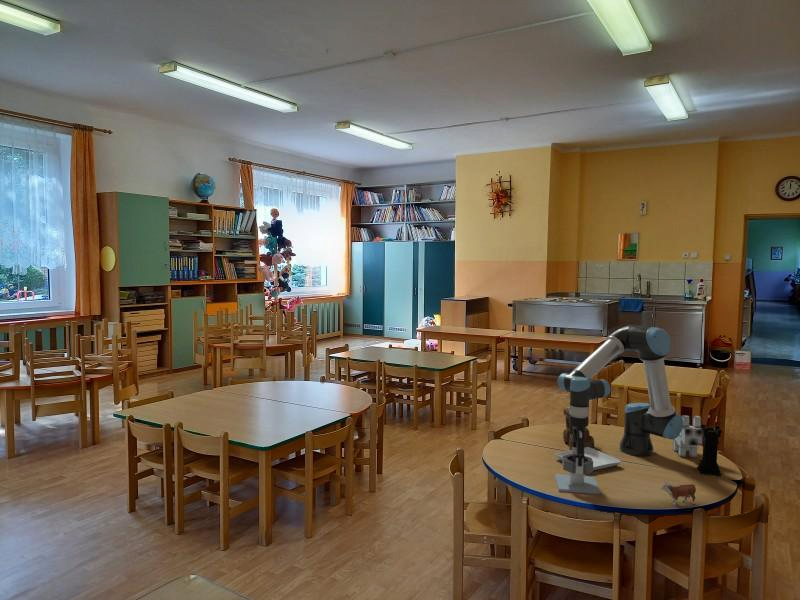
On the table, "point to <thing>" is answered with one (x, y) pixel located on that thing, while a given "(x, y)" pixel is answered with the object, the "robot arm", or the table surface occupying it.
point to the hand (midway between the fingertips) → (577, 468)
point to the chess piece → (710, 451)
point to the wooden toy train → (569, 433)
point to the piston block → (577, 483)
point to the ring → (570, 464)
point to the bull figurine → (680, 491)
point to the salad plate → (594, 458)
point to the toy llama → (688, 437)
